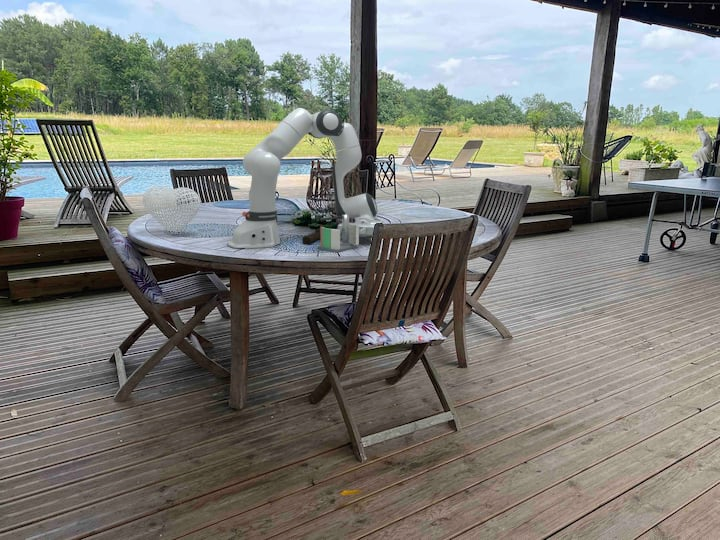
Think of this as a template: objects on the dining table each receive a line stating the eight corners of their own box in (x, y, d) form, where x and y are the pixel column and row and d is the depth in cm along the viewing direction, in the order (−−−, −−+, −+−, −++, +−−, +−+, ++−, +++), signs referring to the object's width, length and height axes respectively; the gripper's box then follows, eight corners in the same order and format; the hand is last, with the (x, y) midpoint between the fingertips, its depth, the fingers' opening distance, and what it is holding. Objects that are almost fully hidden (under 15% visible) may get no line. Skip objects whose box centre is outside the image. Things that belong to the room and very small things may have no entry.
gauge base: (340, 243, 222) (340, 222, 219) (360, 246, 215) (360, 225, 213) (317, 248, 210) (316, 227, 208) (336, 252, 204) (336, 230, 201)
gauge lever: (346, 240, 217) (346, 214, 214) (360, 244, 211) (360, 216, 208) (318, 245, 208) (318, 217, 205) (332, 249, 201) (332, 220, 198)
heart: (209, 234, 238) (206, 186, 232) (185, 240, 224) (181, 189, 218) (164, 229, 249) (160, 183, 243) (139, 234, 235) (134, 186, 229)
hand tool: (310, 245, 218) (310, 235, 216) (301, 244, 219) (301, 234, 218) (327, 237, 235) (327, 227, 234) (319, 237, 236) (319, 227, 235)
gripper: (341, 218, 226) (333, 223, 213) (386, 220, 223) (381, 225, 209) (341, 232, 228) (333, 238, 215) (386, 234, 224) (381, 240, 211)
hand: (357, 232), depth 212 cm, fingers closed
